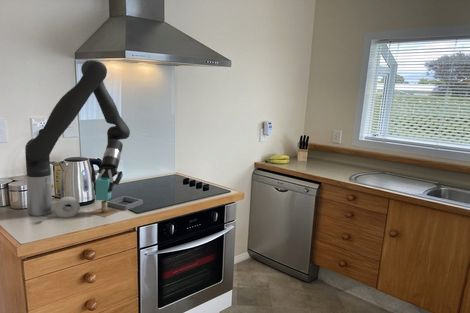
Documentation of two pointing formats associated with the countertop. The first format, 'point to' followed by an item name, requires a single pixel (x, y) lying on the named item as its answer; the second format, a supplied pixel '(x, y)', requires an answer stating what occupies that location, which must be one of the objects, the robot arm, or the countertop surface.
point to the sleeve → (103, 189)
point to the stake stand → (104, 210)
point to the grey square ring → (115, 204)
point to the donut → (65, 201)
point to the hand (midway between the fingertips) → (102, 191)
